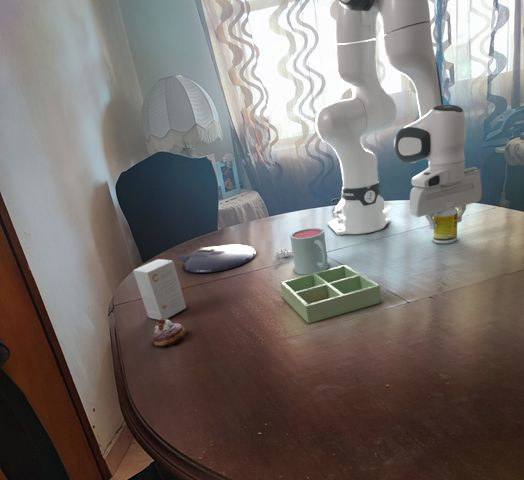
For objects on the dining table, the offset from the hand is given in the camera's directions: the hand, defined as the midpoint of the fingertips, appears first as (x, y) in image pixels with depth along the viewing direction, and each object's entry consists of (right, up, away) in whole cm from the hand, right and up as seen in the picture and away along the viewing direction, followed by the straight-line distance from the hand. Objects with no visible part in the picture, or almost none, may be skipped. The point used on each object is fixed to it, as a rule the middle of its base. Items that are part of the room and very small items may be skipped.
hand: (445, 225), depth 128 cm
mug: (-36, -13, -1) cm, 38 cm away
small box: (-75, -25, -9) cm, 80 cm away
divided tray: (-35, -23, -20) cm, 46 cm away
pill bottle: (+1, -4, +2) cm, 5 cm away
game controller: (-45, -8, +11) cm, 47 cm away
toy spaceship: (-66, -5, +24) cm, 71 cm away
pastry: (-72, -32, -23) cm, 82 cm away
